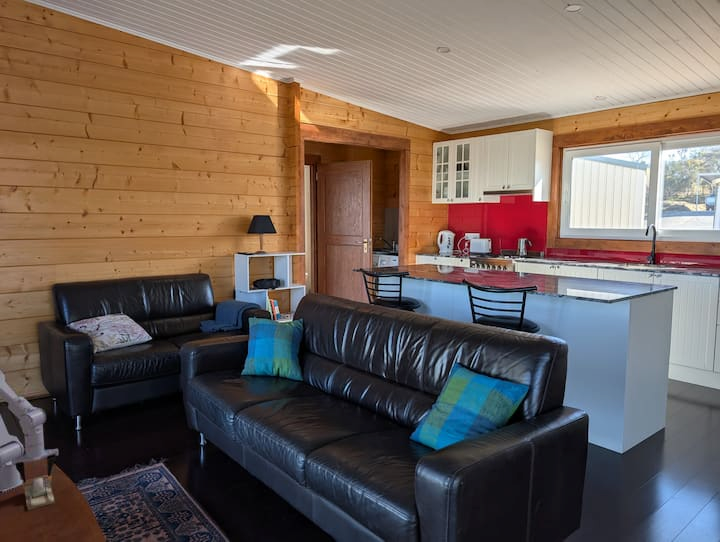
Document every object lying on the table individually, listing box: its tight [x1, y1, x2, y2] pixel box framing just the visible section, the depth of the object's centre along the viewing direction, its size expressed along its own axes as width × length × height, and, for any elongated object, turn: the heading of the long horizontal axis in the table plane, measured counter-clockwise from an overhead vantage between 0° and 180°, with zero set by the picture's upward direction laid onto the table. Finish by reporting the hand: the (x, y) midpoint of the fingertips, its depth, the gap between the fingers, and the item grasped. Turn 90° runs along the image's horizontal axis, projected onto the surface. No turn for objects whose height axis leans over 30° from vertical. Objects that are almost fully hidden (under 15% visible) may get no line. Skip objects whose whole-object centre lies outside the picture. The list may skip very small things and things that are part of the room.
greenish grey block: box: [32, 477, 46, 497], centre depth 188 cm, size 4×4×5 cm
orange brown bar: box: [21, 474, 53, 490], centre depth 192 cm, size 2×9×2 cm, turn 127°
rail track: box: [23, 474, 56, 511], centre depth 188 cm, size 14×8×4 cm, turn 37°
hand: (36, 478), depth 191 cm, fingers open, 7 cm apart
